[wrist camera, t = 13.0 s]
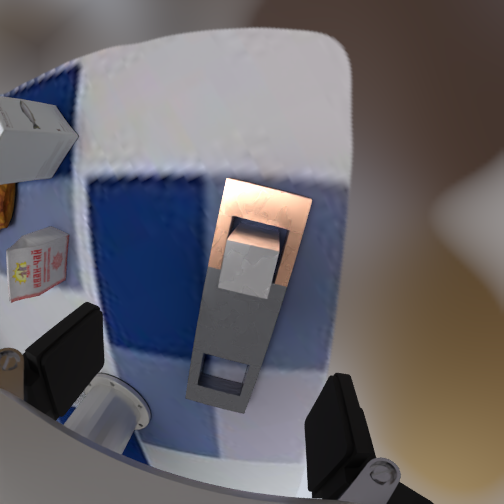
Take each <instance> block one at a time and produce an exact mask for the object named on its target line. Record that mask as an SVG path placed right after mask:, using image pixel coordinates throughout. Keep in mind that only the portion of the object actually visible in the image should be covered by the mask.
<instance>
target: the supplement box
mask: <svg viewBox="0 0 504 504" xmlns="http://www.w3.org/2000/svg"><path fill="white" fill-rule="evenodd" d="M77 138H78V135H77V134H76V133H75V131H74V130H73V129H72V128H71V127H70V125H69V124H68V123H67V121H66V120H65V119H64V117H63V116H62V114H61V113H60V111H59V110H58V108H57V107H56V106H55V105H50V104H45V103H40V102H34V101H28V100H22V99H16V98H8V97H1V96H0V185H2V184H9V183H16V182H23V181H30V180H39V179H48V178H52V176H53V175H54V173H55V172H56V170H57V168H58V167H59V165H60V164H61V162H62V161H63V159H64V158H65V156H66V155H67V153H68V151H69V150H70V149H71V147H72V145H73V144H74V143H75V141H76V140H77Z"/></svg>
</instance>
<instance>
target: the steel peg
mask: <svg viewBox="0 0 504 504" xmlns="http://www.w3.org/2000/svg"><path fill="white" fill-rule="evenodd" d="M278 255H279V230H275V229H271V228H267V227H262V226H258V225H254V224H249V223H245V222H240V223H239V224H238V226H237V227H236V228H235V230H234V231H233V232H232V234H231V235H230V236H229V238H228V239H227V242H226V247H225V252H224V258H223V263H222V268H221V274H220V279H219V285H218V288H222V289H226V290H230V291H234V292H238V293H243V294H247V295H251V296H256V297H260V298H265V299H267V298H268V294H269V290H270V286H271V283H272V279H273V275H274V271H275V267H276V263H277V259H278Z"/></svg>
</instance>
